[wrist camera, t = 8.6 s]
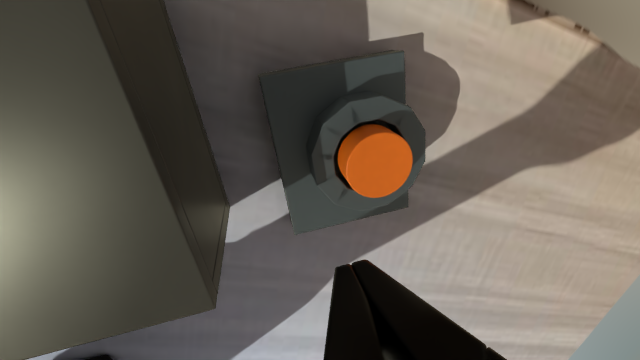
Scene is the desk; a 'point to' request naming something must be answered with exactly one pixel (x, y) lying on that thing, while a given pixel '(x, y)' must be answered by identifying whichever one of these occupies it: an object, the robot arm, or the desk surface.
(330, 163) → the control block
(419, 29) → the desk surface
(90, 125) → the dark grey box
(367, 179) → the button
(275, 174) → the desk surface
